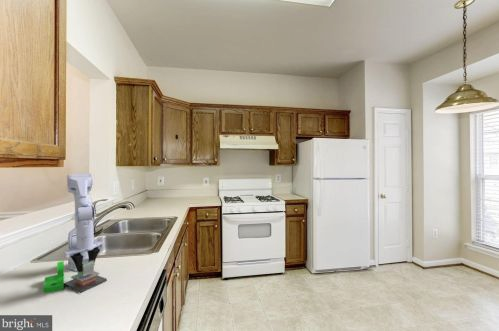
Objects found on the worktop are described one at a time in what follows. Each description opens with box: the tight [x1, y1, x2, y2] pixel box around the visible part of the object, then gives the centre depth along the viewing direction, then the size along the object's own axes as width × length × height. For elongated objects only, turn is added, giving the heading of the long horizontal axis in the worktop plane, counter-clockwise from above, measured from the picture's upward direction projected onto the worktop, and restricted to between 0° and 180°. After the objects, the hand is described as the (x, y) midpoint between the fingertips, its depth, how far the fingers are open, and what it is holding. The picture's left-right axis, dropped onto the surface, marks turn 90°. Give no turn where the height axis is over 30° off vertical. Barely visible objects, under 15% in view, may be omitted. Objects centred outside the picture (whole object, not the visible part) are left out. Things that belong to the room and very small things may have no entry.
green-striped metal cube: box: [77, 259, 95, 276], centre depth 97 cm, size 4×4×5 cm
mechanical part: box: [43, 261, 65, 294], centre depth 95 cm, size 12×6×8 cm, turn 38°
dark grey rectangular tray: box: [64, 270, 108, 294], centre depth 97 cm, size 12×10×4 cm
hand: (85, 269), depth 97 cm, fingers closed on green-striped metal cube, 4 cm apart
